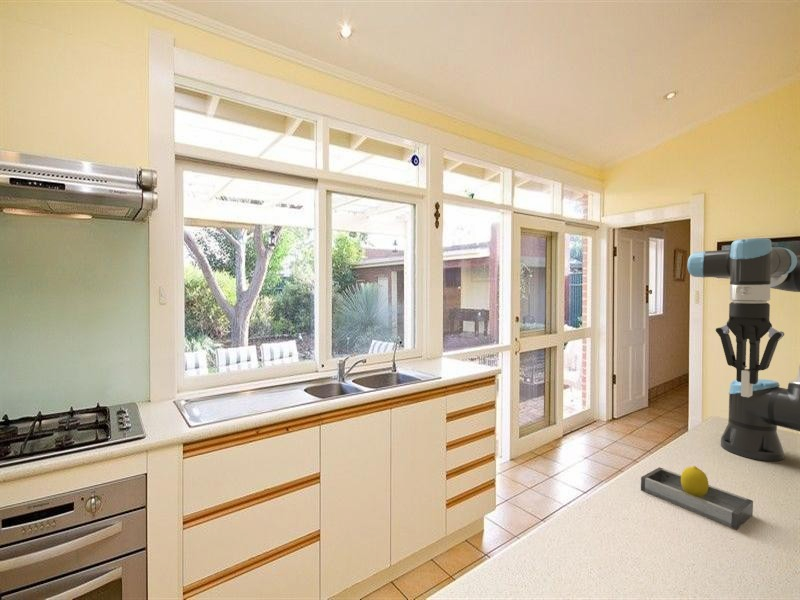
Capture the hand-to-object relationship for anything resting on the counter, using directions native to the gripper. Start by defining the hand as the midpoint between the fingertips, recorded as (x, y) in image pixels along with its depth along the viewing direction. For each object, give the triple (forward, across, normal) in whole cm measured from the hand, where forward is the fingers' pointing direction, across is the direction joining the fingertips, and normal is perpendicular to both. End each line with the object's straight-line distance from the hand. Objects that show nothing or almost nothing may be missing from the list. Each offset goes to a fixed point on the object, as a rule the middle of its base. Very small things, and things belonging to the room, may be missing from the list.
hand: (746, 395), depth 99 cm
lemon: (+25, -6, -14) cm, 29 cm away
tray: (+26, -6, -14) cm, 30 cm away
